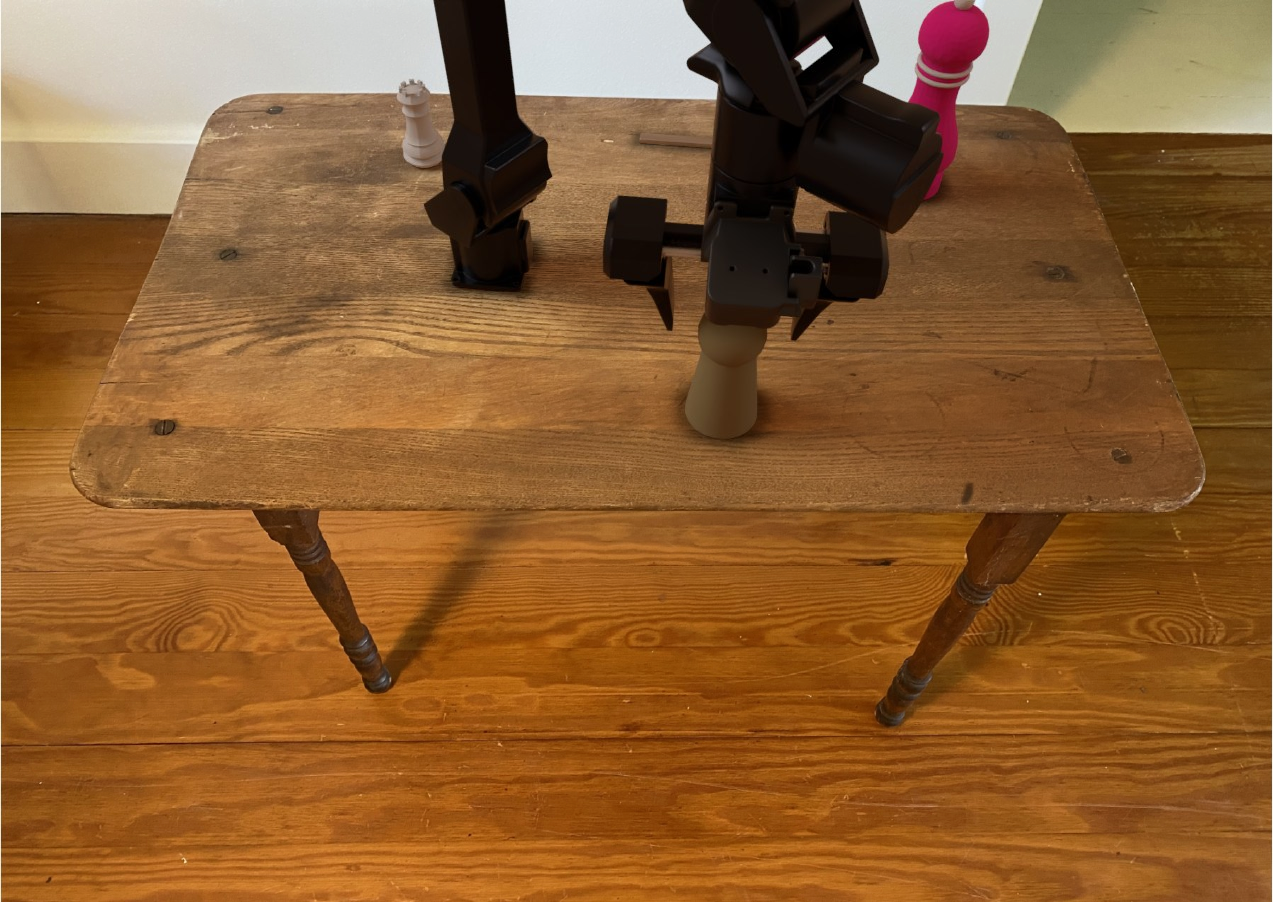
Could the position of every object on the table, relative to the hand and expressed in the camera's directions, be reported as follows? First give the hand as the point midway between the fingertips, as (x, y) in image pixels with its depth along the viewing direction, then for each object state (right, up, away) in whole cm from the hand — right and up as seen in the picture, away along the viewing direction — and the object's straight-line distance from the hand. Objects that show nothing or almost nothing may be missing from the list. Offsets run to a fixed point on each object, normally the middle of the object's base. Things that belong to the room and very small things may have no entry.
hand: (731, 331), depth 69 cm
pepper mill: (+21, +19, +26) cm, 38 cm away
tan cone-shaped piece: (0, -6, +8) cm, 10 cm away
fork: (+3, +23, +29) cm, 37 cm away
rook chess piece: (-29, +22, +26) cm, 45 cm away
